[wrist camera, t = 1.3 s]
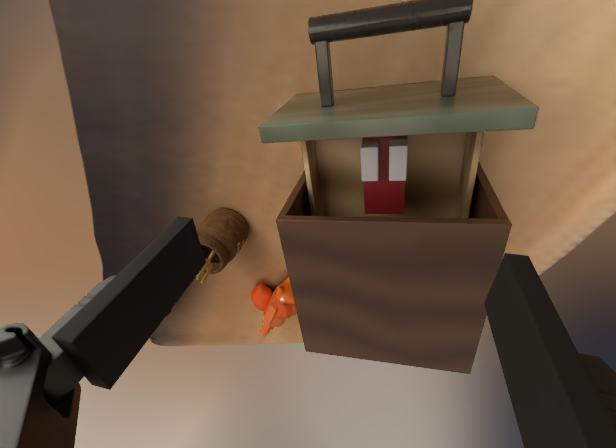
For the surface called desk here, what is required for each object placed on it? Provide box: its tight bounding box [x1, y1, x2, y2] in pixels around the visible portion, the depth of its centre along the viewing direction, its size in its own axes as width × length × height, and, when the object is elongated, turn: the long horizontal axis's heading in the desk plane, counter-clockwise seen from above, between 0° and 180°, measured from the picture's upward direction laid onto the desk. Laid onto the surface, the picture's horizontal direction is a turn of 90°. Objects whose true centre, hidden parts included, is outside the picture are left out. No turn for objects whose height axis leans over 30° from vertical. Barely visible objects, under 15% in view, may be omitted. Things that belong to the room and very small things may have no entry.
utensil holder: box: [190, 208, 249, 284], centre depth 37 cm, size 6×6×12 cm
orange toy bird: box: [251, 277, 297, 336], centre depth 46 cm, size 5×8×12 cm
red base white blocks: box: [360, 135, 408, 214], centre depth 27 cm, size 7×3×6 cm, turn 8°
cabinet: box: [276, 161, 512, 374], centre depth 32 cm, size 18×17×11 cm
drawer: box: [259, 0, 539, 218], centre depth 26 cm, size 24×17×10 cm
